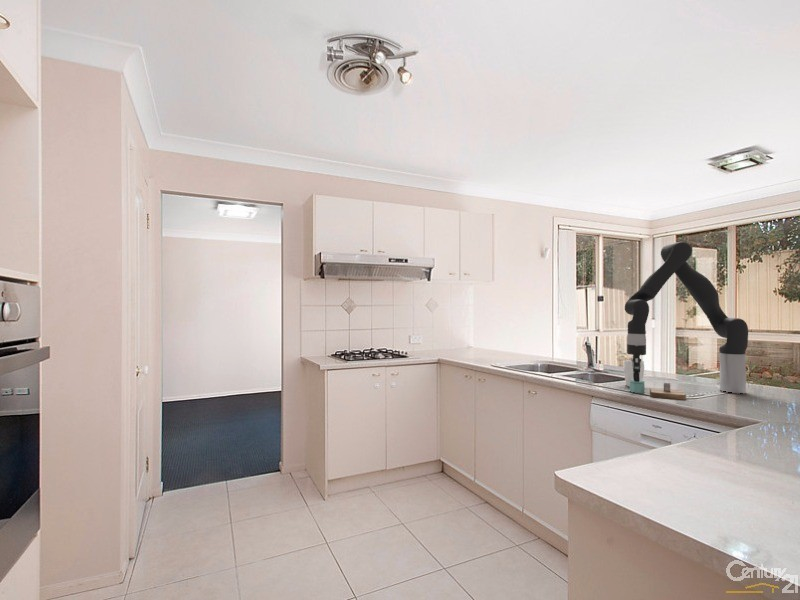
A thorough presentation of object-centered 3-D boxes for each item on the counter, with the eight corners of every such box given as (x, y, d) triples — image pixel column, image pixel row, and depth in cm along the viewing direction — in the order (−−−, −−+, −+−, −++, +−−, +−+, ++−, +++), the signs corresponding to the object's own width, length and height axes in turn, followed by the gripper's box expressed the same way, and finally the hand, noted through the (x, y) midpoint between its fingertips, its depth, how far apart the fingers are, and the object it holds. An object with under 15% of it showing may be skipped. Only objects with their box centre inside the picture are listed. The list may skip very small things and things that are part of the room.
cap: (629, 390, 190) (629, 379, 190) (644, 391, 187) (644, 380, 187) (630, 392, 185) (629, 381, 185) (644, 393, 182) (644, 382, 182)
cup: (648, 387, 197) (648, 362, 197) (629, 387, 197) (629, 362, 197) (637, 384, 206) (637, 360, 206) (619, 384, 206) (619, 359, 206)
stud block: (649, 392, 185) (649, 379, 186) (682, 394, 180) (682, 382, 180) (651, 397, 175) (651, 383, 175) (685, 400, 169) (685, 386, 169)
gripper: (626, 342, 195) (626, 377, 194) (626, 344, 182) (626, 381, 182) (645, 343, 191) (645, 378, 191) (646, 345, 179) (646, 383, 178)
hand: (636, 380), depth 186 cm, fingers open, 8 cm apart
